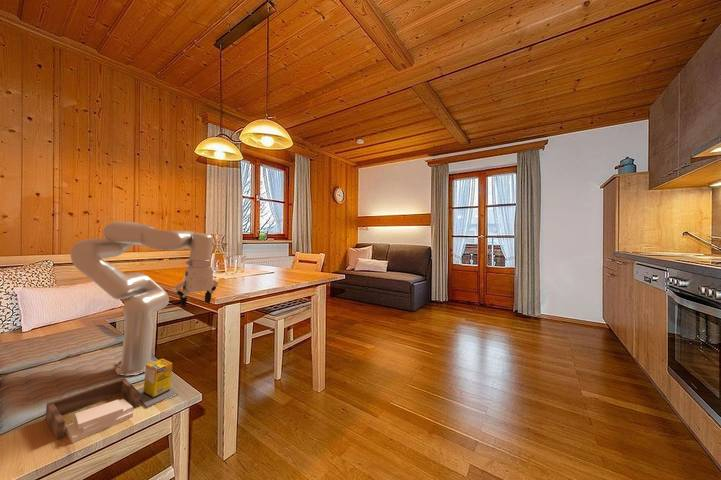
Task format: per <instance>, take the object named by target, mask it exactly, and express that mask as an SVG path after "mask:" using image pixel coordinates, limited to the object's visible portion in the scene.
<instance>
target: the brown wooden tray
mask: <svg viewBox="0 0 721 480" xmlns="http://www.w3.org/2000/svg"><path fill="white" fill-rule="evenodd" d="M119 395H121V396H122V397H123V399H124V400H125V401H127V402H128V403H129V404H130V405H132V406H133V409H137V408H139V405H140V401H139V398H140V392H139V391H138V390H137V388H136V387H135V386H133V385H132V384H131V382H129V381H128V379H126V378H125V377H124V378H120V379H118V380H113V381H111V382H108V383H104V384H102V385H99V386H96V387H93V388H89V389H87V390H84V391H80V392H78V393H74V394H71V395H68V396H65V397H63V398H62V397H61V398H59V399H55V400H52V401H50V402H47V403H46V408H45V409H46V410H45V420H46V422H47V424H48V426H49V428H50V429H51V431H52V433H53V435H54V437H55V438H56V440H57V441H59V440H61V439H63V438H64V435H65V426H66V425H65V424H66V421H65V419H64V417H63V416H64V415H66V414H69V413H72V412H75V411H77V410H80V409H83V408H86V407H89V406H91V405H94V404H97V403H100V402H102V401H105V400H108V399H112V398H114V397H116V396H119Z"/></svg>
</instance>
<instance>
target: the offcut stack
mask: <svg viewBox="0 0 721 480" xmlns="http://www.w3.org/2000/svg"><path fill="white" fill-rule="evenodd" d="M133 410H134V408H133V406H132V405H131V404H130V403H129V402H128V401H127V400H126V399H125V398H121V399H115V400H112V401H109V402H105V403H102V404H100V405H97V406H93V407H91V408H88V409H84V410H82V411H79V412H75V413H74V422H72V423H69V424H67V425H64V433H65V434H66V435H67V437H68V439H69V440H70V442H71V443H72V444H73V443H75V442H78V441H80V440H82V439H85V438H87V437H90V436H92V435H94V434H97V433H99V432H101V431H103V430H106V429H108V428H111V427H112V426H114V425H117V424H120V423H121V422H124V421H127V420H130V419H131V418H133V417H134V412H133ZM110 426H111V427H110Z"/></svg>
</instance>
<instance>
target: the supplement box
mask: <svg viewBox="0 0 721 480" xmlns="http://www.w3.org/2000/svg"><path fill="white" fill-rule="evenodd" d="M172 373H173V362H171V361H169V360H166V359H165V358H160V359H158V360H155V361H154V362H152V363H149V364H147V365H146V370H145V373H144V381H143V382H144V384H143V387H144V391H143V393H144V394H146V395H148V396H149V397H151V398H153V399H154V398H156V397H158V396H160V395H162V394H164V393H166V392H168V391H170V387H171V382H172Z"/></svg>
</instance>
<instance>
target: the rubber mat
mask: <svg viewBox="0 0 721 480" xmlns="http://www.w3.org/2000/svg"><path fill="white" fill-rule="evenodd" d="M136 389H137V388H136ZM137 390H138V391H139V392H140V398H139V403H141V404H142V406H144V408H145V409H148V408H150V407H152V405H153V406H155V405H157V404H156V403H158V404H160V403H162V402H164V401H163V400H165V399H167V398H169V397H171V396H173V395H175V394H178V395H179V393H178V392H177V390H175V389H174V388H173V387H172V386H170V391H168V392H166V393H164V394H162V395H160V396H158V397H156V398H154V399H153V398H151V397H149V396H148V395H146V394H144V393H143V391H144V386H143V387H140V388H138V389H137ZM169 399H170V398H169ZM167 400H168V399H167ZM161 401H162V402H161ZM165 401H166V400H165ZM159 402H160V403H159ZM154 404H155V405H154ZM147 407H148V408H147Z"/></svg>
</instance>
